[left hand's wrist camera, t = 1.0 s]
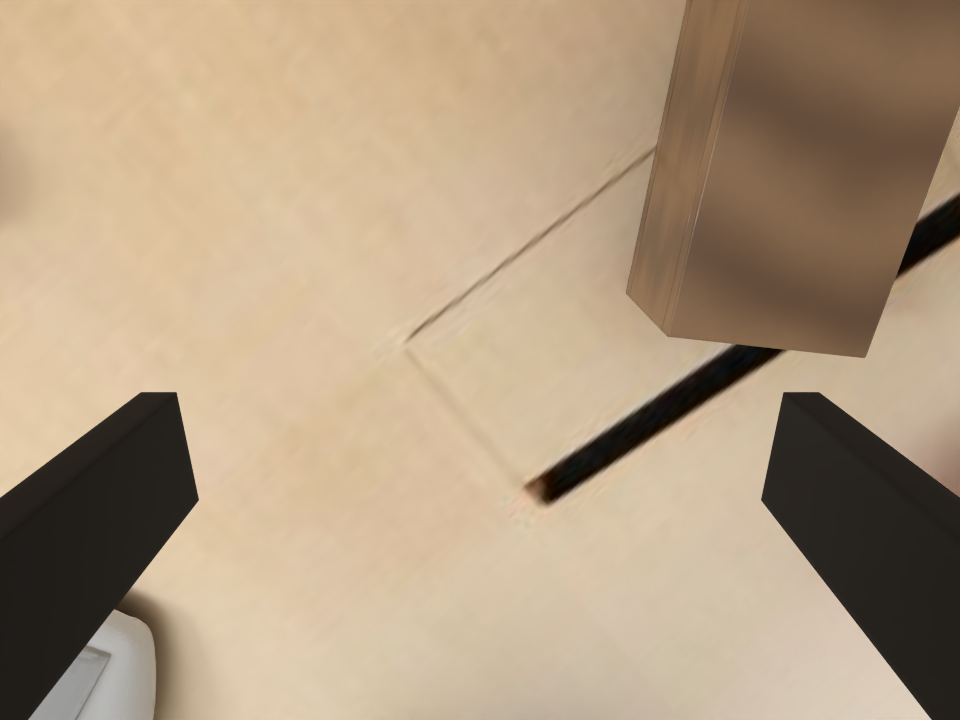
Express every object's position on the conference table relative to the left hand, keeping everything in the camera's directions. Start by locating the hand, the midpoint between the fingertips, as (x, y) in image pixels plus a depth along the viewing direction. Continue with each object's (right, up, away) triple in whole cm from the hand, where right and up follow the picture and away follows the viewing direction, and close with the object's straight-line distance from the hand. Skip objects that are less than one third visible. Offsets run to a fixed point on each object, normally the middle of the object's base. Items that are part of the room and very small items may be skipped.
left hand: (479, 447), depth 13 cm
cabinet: (+15, +15, +20) cm, 29 cm away
